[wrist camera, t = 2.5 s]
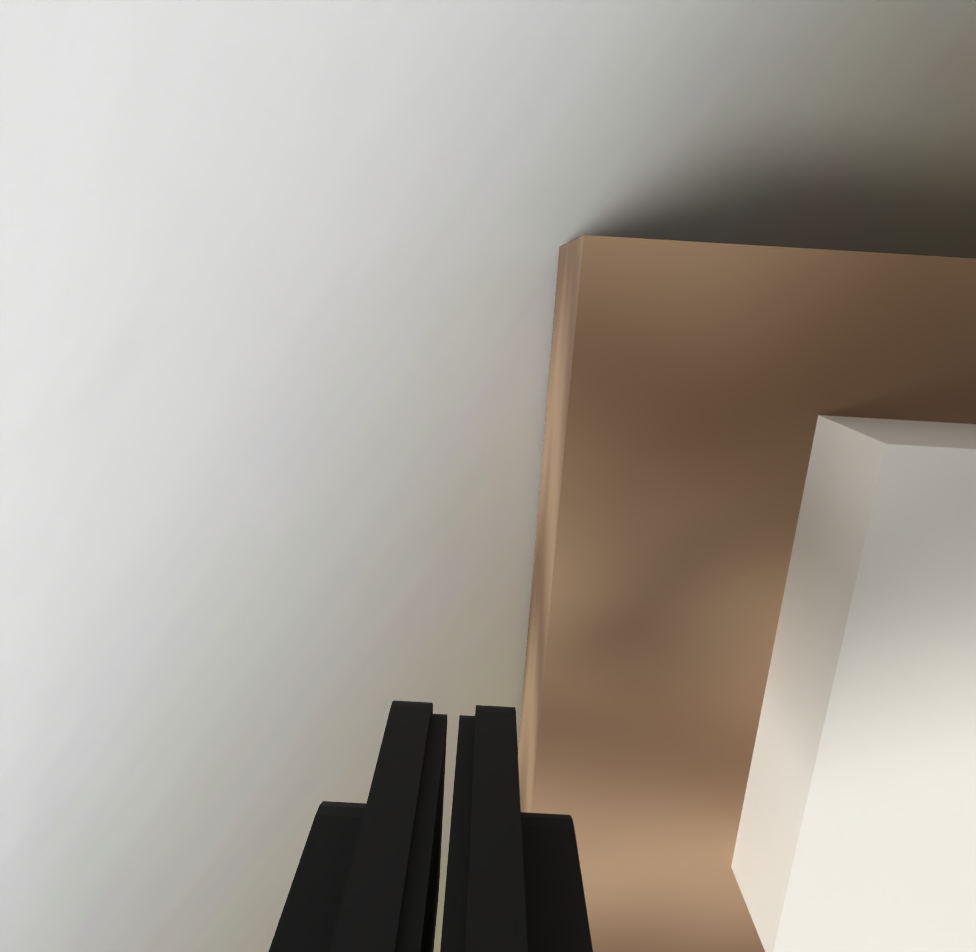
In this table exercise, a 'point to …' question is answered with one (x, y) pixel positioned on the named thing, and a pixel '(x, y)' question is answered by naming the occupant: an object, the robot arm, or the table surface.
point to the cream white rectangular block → (871, 703)
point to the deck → (695, 536)
